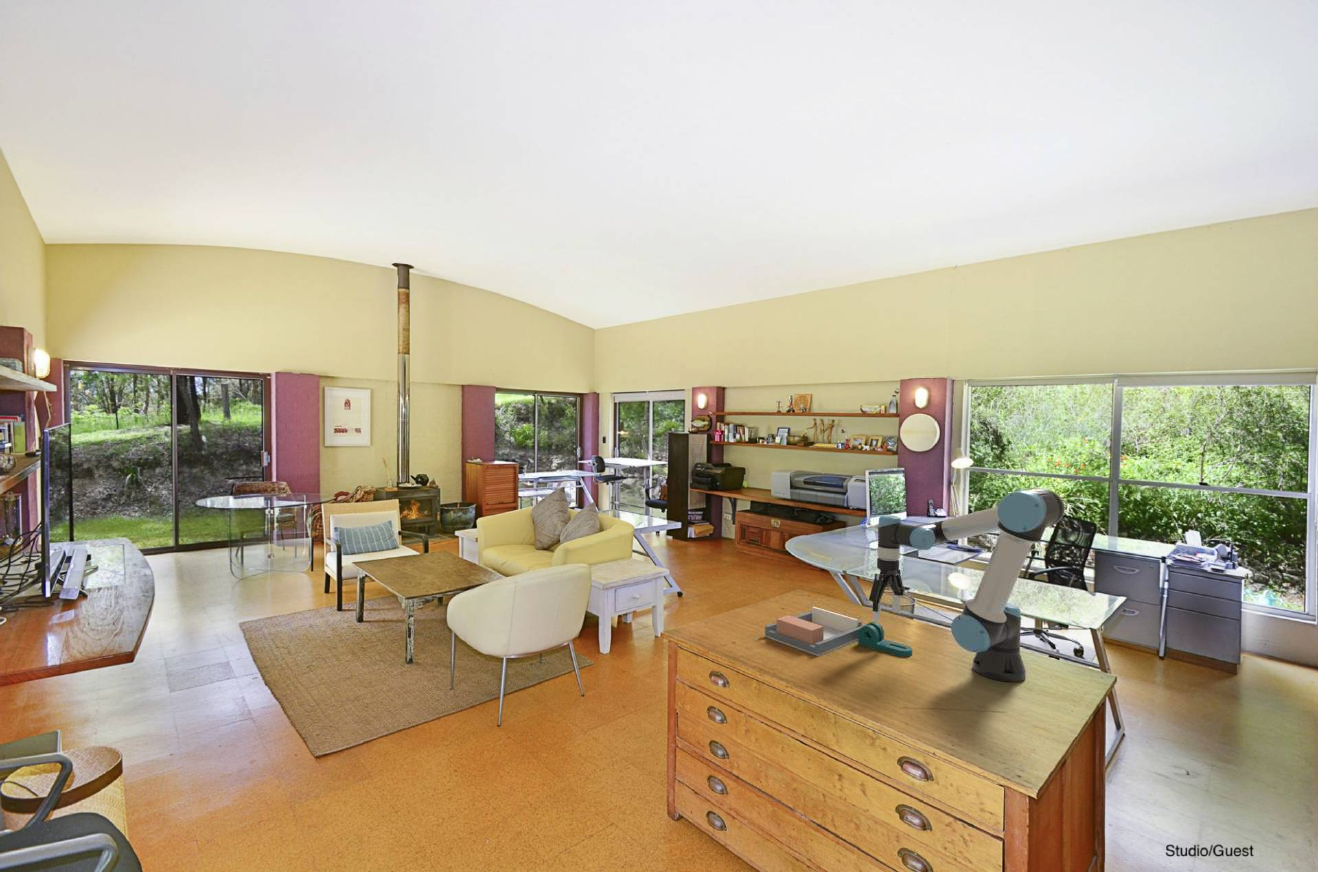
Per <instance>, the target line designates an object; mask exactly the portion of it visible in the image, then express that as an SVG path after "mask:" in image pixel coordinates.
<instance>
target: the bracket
mask: <svg viewBox="0 0 1318 872" xmlns="http://www.w3.org/2000/svg"><path fill="white" fill-rule="evenodd" d="M862 626H863V627H861V628H860V630H859V637H858V640H857V641H858V642H857V643H858V646H862V647H865V648H869V649H872V650H876V651H880V652H882V653H883V652H884V653H887V654H891V655H894V656H898V657H902V658H906V657H913V648H912V646H910V645H907V644H903V643H900V642H897V641H892V640H888V639H885V630H884V627H883V626H882V625H881V624H880V623H878V621H871V622H868V623H867V624H864V625H862Z"/></svg>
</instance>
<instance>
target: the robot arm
mask: <svg viewBox="0 0 1318 872" xmlns="http://www.w3.org/2000/svg"><path fill="white" fill-rule="evenodd" d="M1065 510H1066V508H1065V504H1064V501H1063V499H1062V498H1061V496H1060V495H1059V494H1057V493H1056V492H1054V491H1053V490H1051V489H1047V488H1034V489H1019V490H1015V491H1012V492H1010V493H1008V494H1006V495H1005V496H1003V498H1001V500H1000V502H999V503H998V505H997V506H994V507H991V508H987V509H983V510H978V511H974V512H971V513H967V514H962V515H959V516H954V517H951V518H946V519H944V520H940V521H935V522H930V523H924V524H919V525H911V524H905V523H902V519H901V517H900V516H897V515H892V514H891V515H889V514H886V515H880V516H879V518H878V526H877V539H878V540H877V548H876V549H877V559H876V567H877V569H878V570H879V573H874V579H873V583H872V586H871V589H870V594H869V598H868V601H870V602H872V617H871V618H872V619H871V620H873V621H875V622H881V614H882V613H881V611H882V607H881V606H882V602H881V600H882V596H884V595H883V594H884V592H885V590H886V588H888V586H889V585H890V589H891V590H892V592H893V594H892V600H891V602H892V603H891V612H892V613H896V614H901V596H902V597H903V596H904V593H905V588H904V584H903V581H902V575H901V573H902V572H901V569H900V560H899V559H900V558H901V557H900V553H901V551H900V550H901V546H904V547H909V548H913V549H915V550H916V549H917V550H924V551H929V550H931V548H933V546H934V545H939V544H940V545H941V544H945V543H948V542H952V541H957V540H961V539H966V538H971V537H974V536H975V537H976V536H980V535H986V534H988V533H989V534H990V533H994V532H997V531H999V533H1000V534H999V535H998V539H997V540H996V543H995V545H994V549H993V550H992V553H991V555H990V557H989V561H988V563H987V566H986V568H985V570H984V572H983V575H982V577H981V580H980V583H979V585H978V587H977V589H976V593H975V594H974V597H973V598H971V599H968V600H967V601H966V602H965V605H964V607H963V610H962V612H961V614H958V615H956V616H955V617H954V618H953V620H952V621H951V624H950V625H951V626H950V629H951V634H952V636H953V638H954V641H955V642H956V643H957V644H958V646H960V647H961V648H962V649H963V650H965V651H967V652H969V653H975V655H974V656H973V657H974V658H973V661H972V669H973V670H974V672H976V673H977V674H979V675H981V676H983V677H986V678H988V679H992V680H995V681H1001V682H1010V683H1011V682H1012V683H1015V682H1022V681H1024V680H1025V679H1026V675H1027V674H1026V673H1027V670H1026V667H1025V665H1024V661H1023V659H1022V655H1021V630H1022V629H1021V627H1022V626H1021V625H1022V615H1021V609H1020V608H1019V607H1018V606H1016V605H1015V604H1011V603H1008V602H1009V600H1010V597H1011V595H1012V592H1013V590H1014V588H1015V585H1016V583H1017V581H1018V578H1019V575H1020V573H1021V570H1022V568H1023V566H1024V564H1025V561H1026V559H1027V557H1028V555H1029V552H1030V550H1031V548H1032V545H1034V544H1038V543H1040V542H1041V540H1042V537H1043V535H1044V533H1045V531H1046V528H1048V527H1051V526H1054V525H1056V524H1058V523H1059V522H1060V521H1061V520H1062V519H1063V517H1064V515H1065V512H1066V511H1065Z"/></svg>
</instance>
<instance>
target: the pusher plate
mask: <svg viewBox="0 0 1318 872" xmlns="http://www.w3.org/2000/svg"><path fill="white" fill-rule="evenodd" d="M811 611H812V622H814V623H817V624H820V625H824V626H827V627H830V628H833V629H836V630H839V631H842V632H846V631H849V630H852V629H854V628H857V627H858V621H859V619H857V618H854V617H850V616H847V615H843V614H841V613H837V612H833V611H830V610H826V609H823V608H820V607H817V606H811Z"/></svg>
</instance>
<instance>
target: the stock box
mask: <svg viewBox="0 0 1318 872" xmlns="http://www.w3.org/2000/svg"><path fill="white" fill-rule="evenodd" d="M776 622H777V628H776V632H777V633H780V634H783V635H786V636H789V637H791V638H794V639H797V640H800V641H803V642H805V643H808V644H811V645H814V646H815V643H817V642H820V641H823V638H824V626H821V625H818V624H815V623H811V622H808V621H805V620H802V619H799V618H796V617H795V616H793V615H789V614H787V615H785V616H781V617H778V618H776Z"/></svg>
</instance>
